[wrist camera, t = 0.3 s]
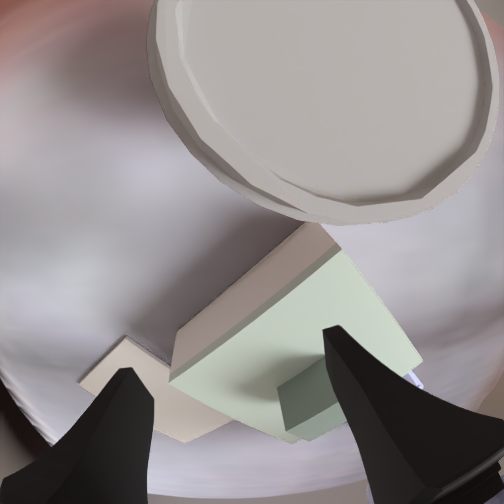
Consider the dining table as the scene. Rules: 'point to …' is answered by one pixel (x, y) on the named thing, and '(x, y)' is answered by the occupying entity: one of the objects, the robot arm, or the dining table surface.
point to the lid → (295, 352)
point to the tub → (251, 290)
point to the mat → (157, 392)
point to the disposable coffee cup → (329, 100)
